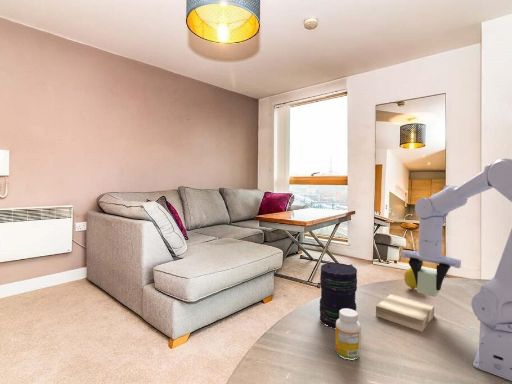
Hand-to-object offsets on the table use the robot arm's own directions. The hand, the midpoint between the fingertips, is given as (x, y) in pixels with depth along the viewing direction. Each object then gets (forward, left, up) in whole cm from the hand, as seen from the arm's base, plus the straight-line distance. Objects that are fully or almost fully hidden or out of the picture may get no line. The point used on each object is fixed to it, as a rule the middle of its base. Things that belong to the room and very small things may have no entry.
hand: (428, 286), depth 82 cm
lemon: (+19, +9, -9) cm, 23 cm away
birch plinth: (-4, +5, -9) cm, 11 cm away
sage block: (0, 0, -2) cm, 2 cm away
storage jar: (-21, +17, -9) cm, 28 cm away
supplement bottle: (-33, +8, -9) cm, 35 cm away
